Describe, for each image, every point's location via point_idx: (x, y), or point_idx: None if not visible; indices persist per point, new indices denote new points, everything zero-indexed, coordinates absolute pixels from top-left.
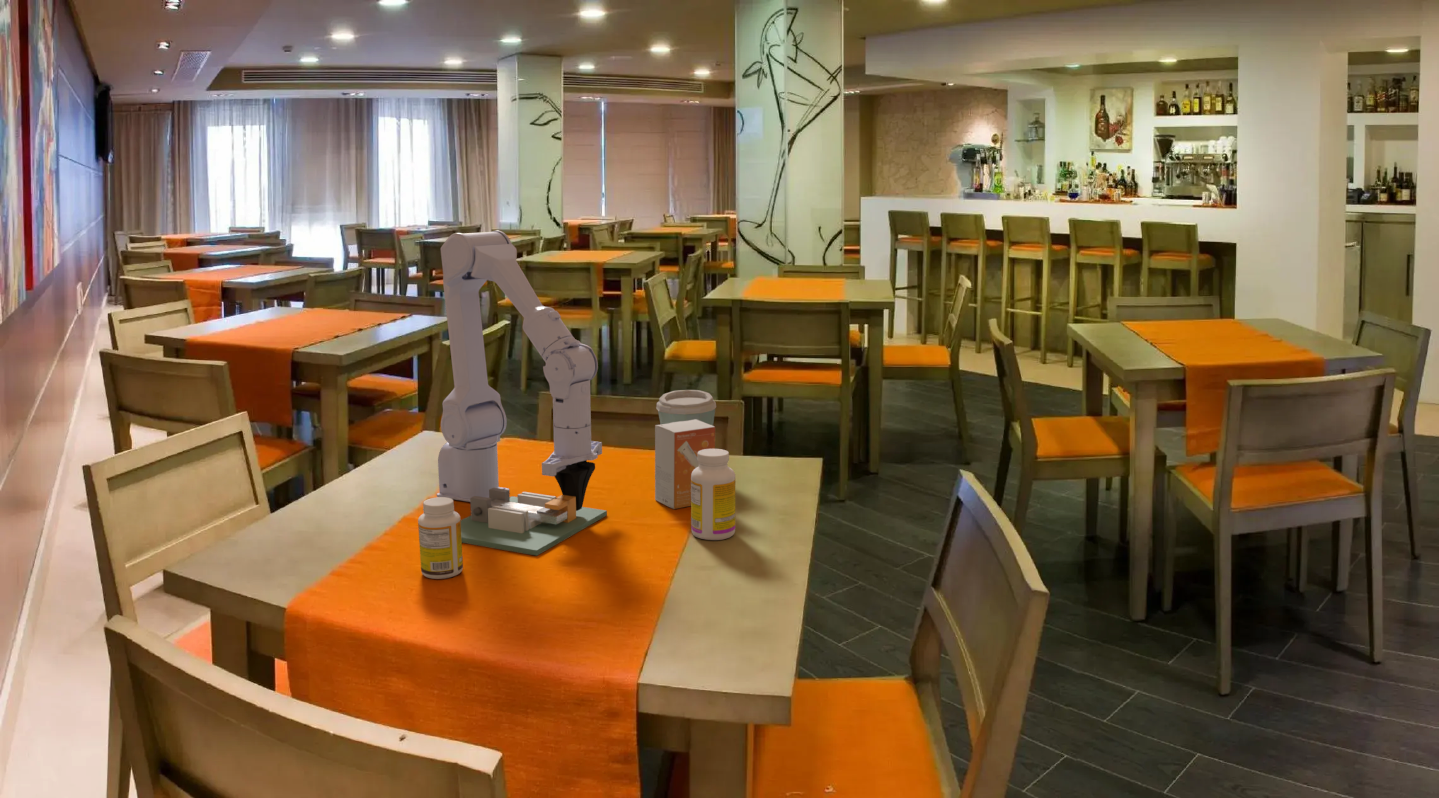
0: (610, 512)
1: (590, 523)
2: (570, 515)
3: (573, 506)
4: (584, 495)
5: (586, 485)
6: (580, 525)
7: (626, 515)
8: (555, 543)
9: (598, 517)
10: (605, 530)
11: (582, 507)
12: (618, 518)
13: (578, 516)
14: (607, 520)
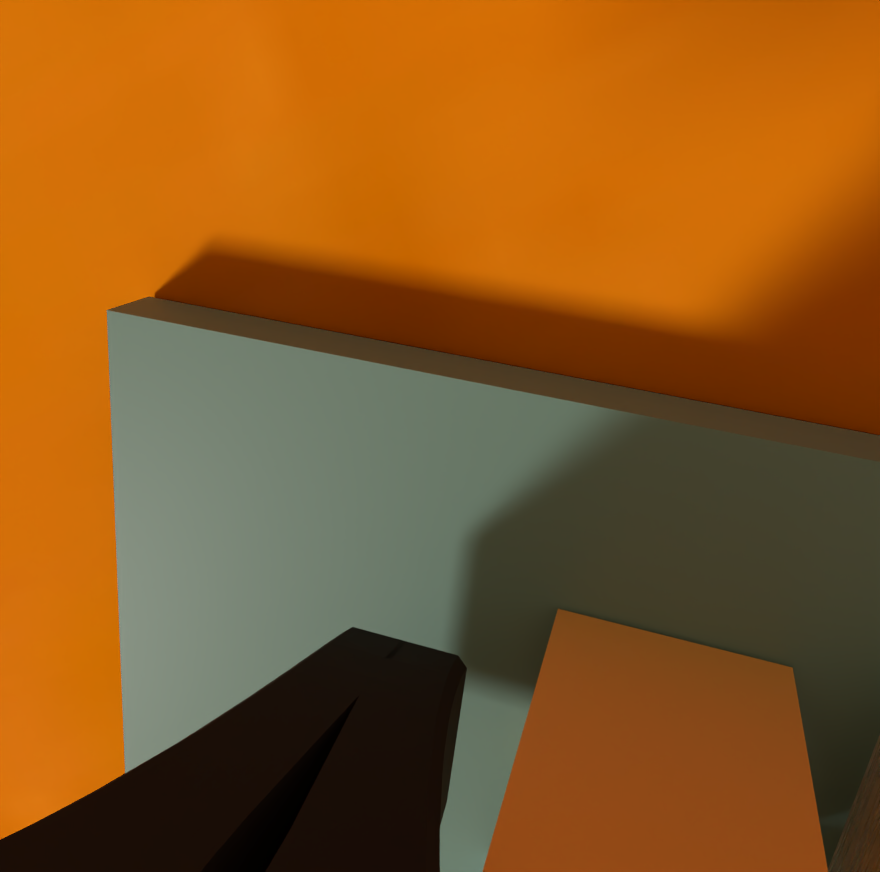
0: (37, 294)
1: (561, 381)
2: (717, 705)
3: (603, 763)
4: (233, 719)
5: (65, 843)
6: (876, 460)
7: (36, 28)
8: None
9: (338, 344)
10: (769, 41)
11: (139, 637)
12: (184, 88)
13: (463, 599)
14: (314, 211)
